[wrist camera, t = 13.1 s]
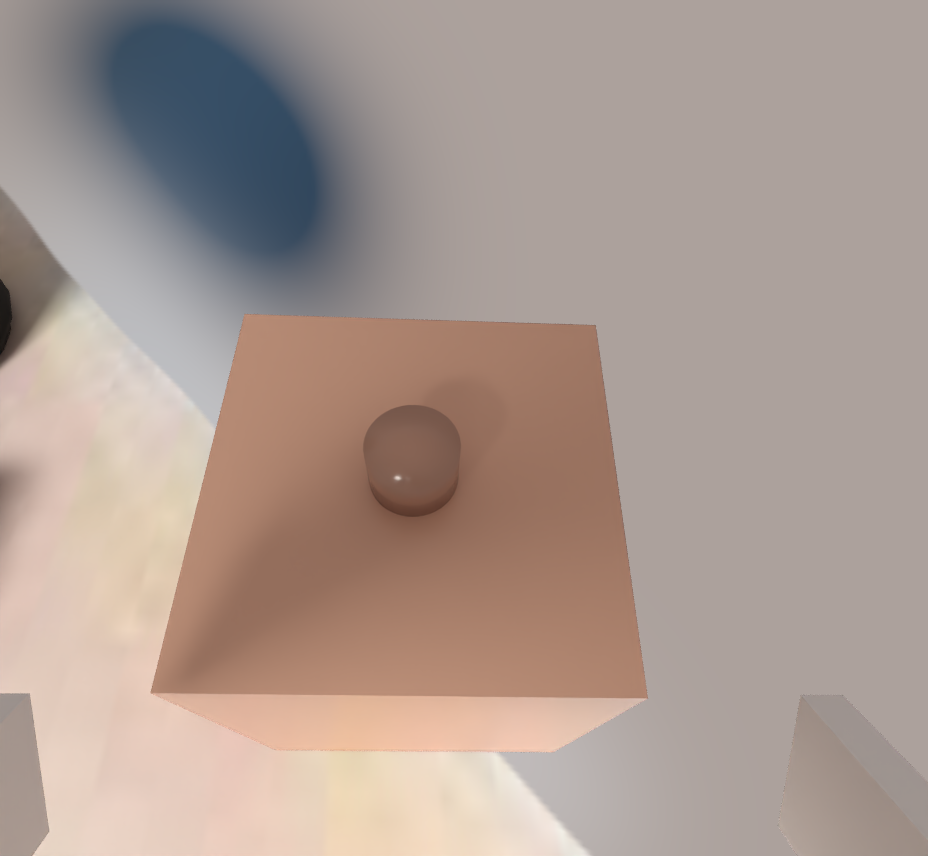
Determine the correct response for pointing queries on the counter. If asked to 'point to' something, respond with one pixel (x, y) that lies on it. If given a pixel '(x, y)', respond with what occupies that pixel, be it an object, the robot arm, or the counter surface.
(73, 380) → the counter surface
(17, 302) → the counter surface
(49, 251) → the counter surface
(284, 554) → the cube with knob
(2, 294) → the coffee jar
